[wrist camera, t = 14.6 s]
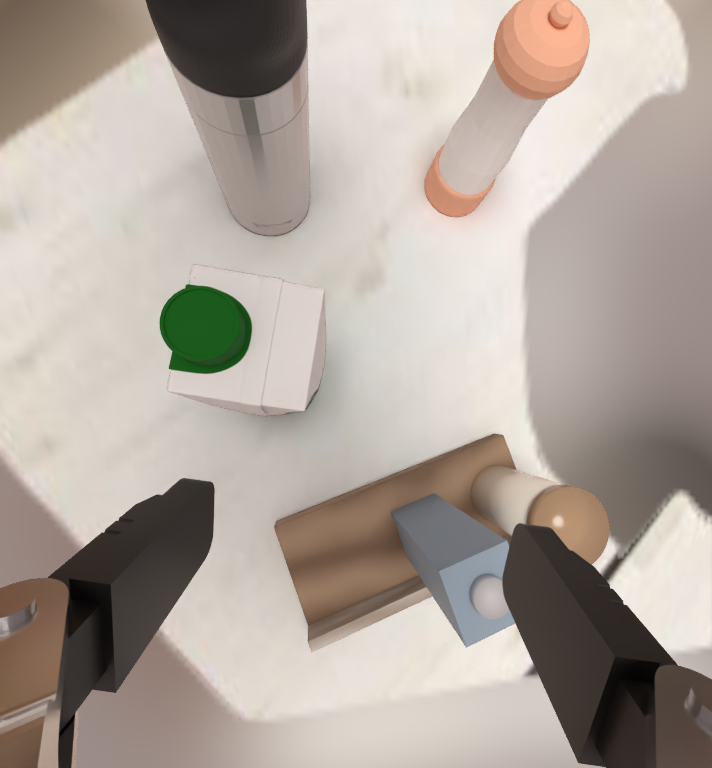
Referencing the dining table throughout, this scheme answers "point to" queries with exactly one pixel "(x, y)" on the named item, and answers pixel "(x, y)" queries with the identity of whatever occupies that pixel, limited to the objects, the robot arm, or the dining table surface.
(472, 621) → the tea tin
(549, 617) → the robot arm
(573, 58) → the salt shaker
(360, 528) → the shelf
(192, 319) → the milk carton
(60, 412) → the dining table surface
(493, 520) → the jar
